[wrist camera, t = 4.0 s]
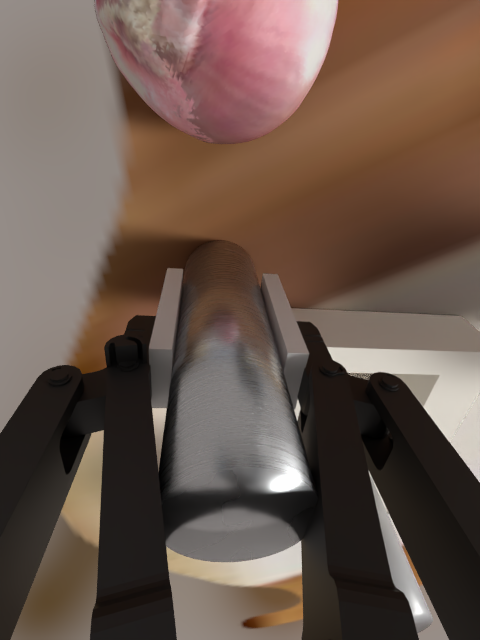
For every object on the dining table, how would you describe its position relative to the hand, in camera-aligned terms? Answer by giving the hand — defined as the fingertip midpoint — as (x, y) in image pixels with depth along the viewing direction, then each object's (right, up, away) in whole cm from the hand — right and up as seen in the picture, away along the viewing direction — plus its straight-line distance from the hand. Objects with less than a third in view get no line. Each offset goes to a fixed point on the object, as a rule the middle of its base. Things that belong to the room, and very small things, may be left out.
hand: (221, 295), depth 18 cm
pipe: (0, +1, +2) cm, 3 cm away
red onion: (0, +11, -3) cm, 11 cm away
